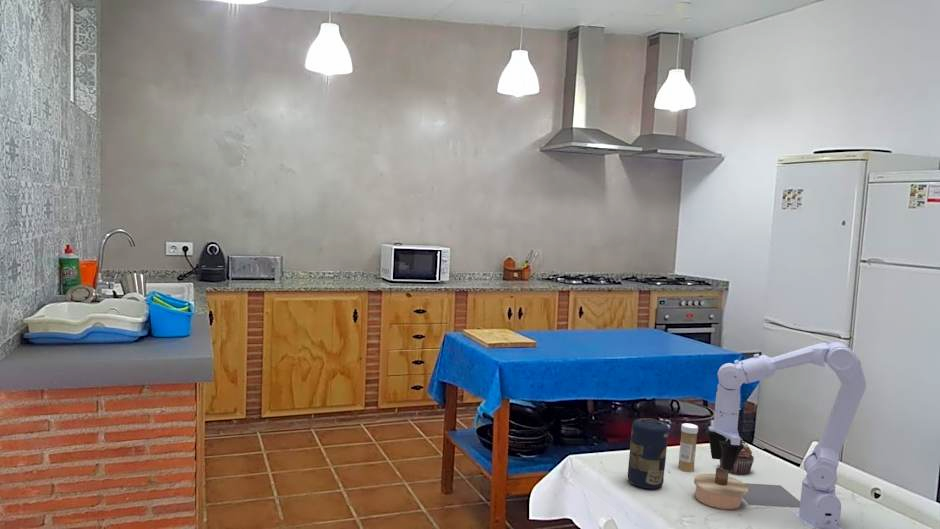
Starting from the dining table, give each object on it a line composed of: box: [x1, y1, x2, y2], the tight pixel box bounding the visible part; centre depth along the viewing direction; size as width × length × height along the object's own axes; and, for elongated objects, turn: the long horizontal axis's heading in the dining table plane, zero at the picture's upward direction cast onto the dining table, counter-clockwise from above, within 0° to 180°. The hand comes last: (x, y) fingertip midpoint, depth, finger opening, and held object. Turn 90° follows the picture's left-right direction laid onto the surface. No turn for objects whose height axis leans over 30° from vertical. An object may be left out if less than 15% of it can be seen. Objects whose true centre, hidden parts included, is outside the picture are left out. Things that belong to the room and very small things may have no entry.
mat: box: [742, 482, 800, 509], centre depth 188 cm, size 15×15×1 cm
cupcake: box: [719, 437, 755, 476], centre depth 206 cm, size 10×10×10 cm
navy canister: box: [627, 417, 669, 489], centre depth 191 cm, size 10×10×18 cm
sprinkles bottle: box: [677, 422, 699, 473], centre depth 203 cm, size 5×5×14 cm
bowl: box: [695, 485, 743, 510], centre depth 182 cm, size 11×11×4 cm
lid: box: [693, 467, 748, 496], centre depth 181 cm, size 13×13×4 cm
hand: (721, 463), depth 181 cm, fingers open, 7 cm apart
